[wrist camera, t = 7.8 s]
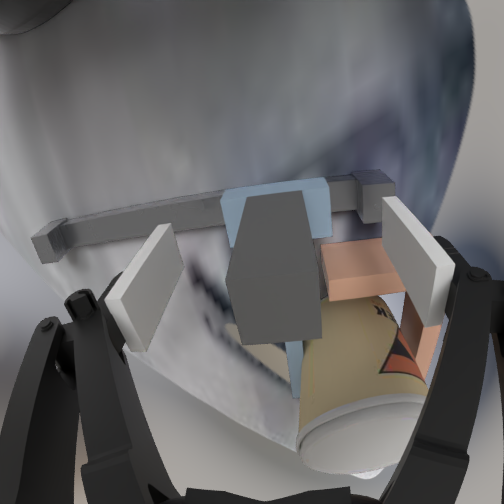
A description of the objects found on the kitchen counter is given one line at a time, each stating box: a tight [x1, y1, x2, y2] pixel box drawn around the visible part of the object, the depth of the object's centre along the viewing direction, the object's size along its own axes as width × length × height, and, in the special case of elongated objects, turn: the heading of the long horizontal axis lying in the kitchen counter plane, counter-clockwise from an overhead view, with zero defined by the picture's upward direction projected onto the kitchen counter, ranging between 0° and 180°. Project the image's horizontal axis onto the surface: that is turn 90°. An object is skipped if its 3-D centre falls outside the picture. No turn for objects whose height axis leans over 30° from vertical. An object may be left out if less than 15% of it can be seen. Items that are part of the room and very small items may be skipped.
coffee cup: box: [296, 295, 429, 474], centre depth 21 cm, size 9×9×12 cm
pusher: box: [220, 177, 333, 398], centre depth 19 cm, size 18×6×11 cm, turn 10°
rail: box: [31, 169, 395, 264], centre depth 20 cm, size 2×26×3 cm, turn 100°
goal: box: [320, 232, 445, 380], centre depth 24 cm, size 16×9×4 cm, turn 10°
